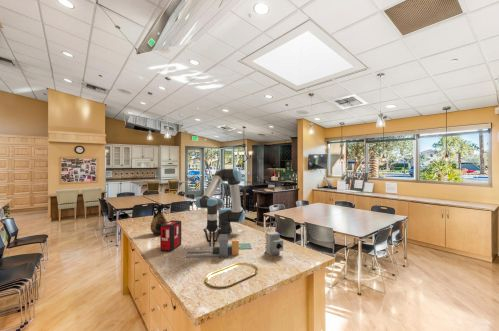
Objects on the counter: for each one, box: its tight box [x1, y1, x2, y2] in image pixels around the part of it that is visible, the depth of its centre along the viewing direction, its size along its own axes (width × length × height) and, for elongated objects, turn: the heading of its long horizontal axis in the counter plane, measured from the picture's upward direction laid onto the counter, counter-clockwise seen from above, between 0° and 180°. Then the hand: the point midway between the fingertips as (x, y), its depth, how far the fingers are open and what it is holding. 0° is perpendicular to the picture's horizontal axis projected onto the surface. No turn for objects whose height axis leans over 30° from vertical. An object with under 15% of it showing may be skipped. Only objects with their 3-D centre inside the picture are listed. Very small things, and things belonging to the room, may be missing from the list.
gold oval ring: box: [204, 262, 259, 289], centre depth 138 cm, size 19×35×2 cm, turn 133°
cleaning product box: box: [159, 220, 182, 253], centre depth 183 cm, size 16×9×20 cm, turn 170°
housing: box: [185, 234, 229, 259], centre depth 170 cm, size 15×30×12 cm, turn 96°
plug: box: [212, 238, 241, 256], centre depth 171 cm, size 5×20×10 cm, turn 96°
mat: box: [228, 242, 253, 250], centre depth 186 cm, size 12×20×1 cm, turn 96°
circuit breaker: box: [264, 230, 284, 256], centre depth 171 cm, size 8×14×15 cm, turn 27°
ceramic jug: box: [149, 202, 168, 236], centre depth 219 cm, size 17×15×30 cm
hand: (212, 250), depth 170 cm, fingers closed
